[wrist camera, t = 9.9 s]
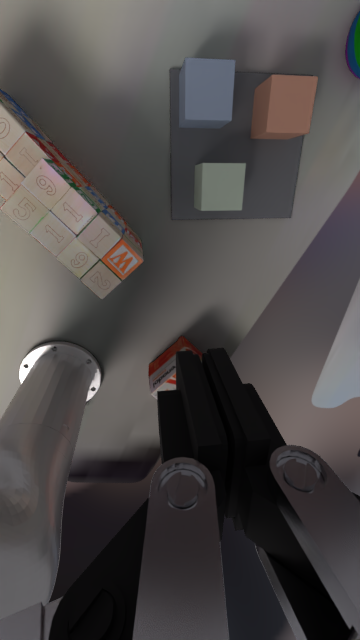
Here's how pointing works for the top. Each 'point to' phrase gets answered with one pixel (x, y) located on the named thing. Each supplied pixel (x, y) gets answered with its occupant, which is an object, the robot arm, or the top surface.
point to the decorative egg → (354, 47)
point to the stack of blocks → (62, 205)
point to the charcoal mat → (233, 157)
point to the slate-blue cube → (206, 93)
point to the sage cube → (219, 186)
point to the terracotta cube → (283, 107)
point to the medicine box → (168, 367)
